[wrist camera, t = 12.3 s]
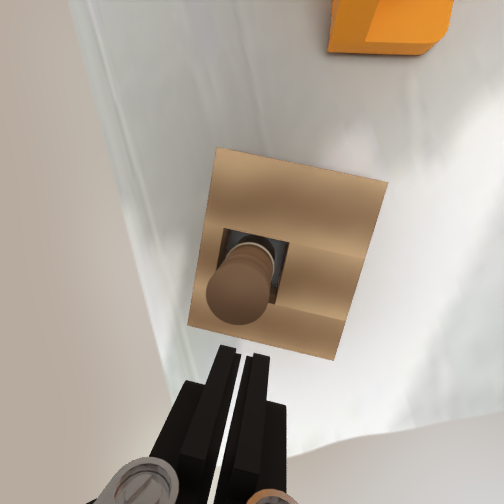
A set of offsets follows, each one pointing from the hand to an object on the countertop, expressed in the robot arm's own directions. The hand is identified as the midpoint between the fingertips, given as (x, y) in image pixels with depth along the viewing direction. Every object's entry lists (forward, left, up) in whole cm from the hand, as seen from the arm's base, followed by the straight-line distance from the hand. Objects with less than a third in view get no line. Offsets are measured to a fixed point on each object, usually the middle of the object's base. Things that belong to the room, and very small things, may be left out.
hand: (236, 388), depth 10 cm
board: (-1, +1, -17) cm, 17 cm away
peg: (0, -1, -18) cm, 18 cm away
